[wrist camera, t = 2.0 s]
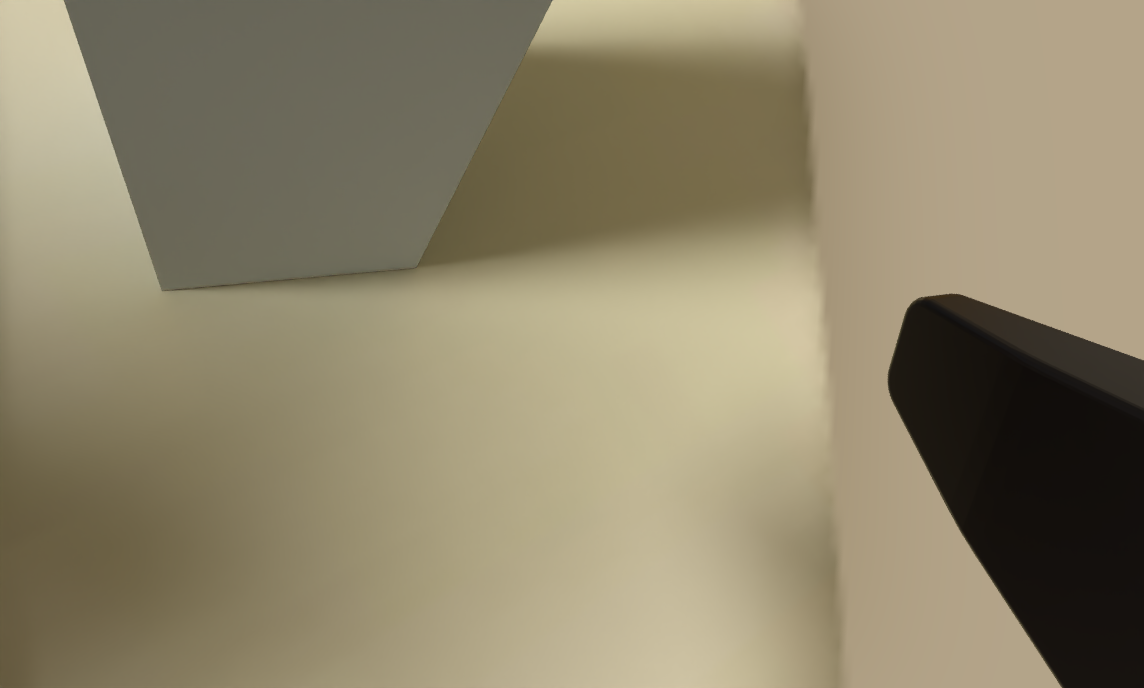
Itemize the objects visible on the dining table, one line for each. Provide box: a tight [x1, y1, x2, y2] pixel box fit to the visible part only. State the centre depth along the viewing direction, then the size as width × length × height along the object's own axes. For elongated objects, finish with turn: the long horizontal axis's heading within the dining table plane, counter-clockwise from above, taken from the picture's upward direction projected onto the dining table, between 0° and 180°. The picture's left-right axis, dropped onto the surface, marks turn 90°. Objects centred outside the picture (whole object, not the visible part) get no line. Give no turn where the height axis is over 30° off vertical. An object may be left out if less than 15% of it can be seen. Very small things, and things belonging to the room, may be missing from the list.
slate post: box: [64, 0, 552, 291], centre depth 16 cm, size 5×5×12 cm
